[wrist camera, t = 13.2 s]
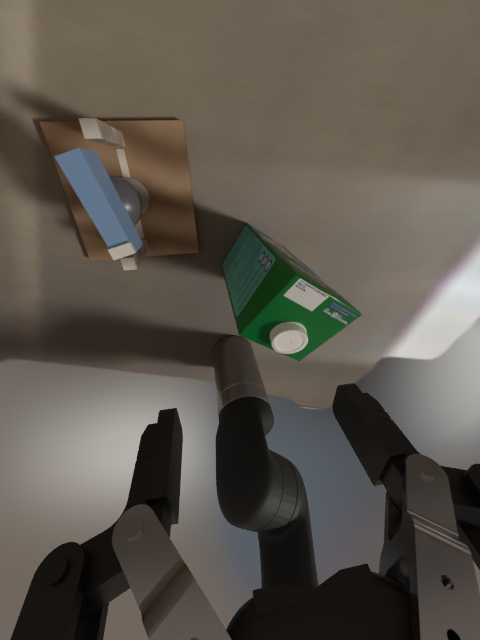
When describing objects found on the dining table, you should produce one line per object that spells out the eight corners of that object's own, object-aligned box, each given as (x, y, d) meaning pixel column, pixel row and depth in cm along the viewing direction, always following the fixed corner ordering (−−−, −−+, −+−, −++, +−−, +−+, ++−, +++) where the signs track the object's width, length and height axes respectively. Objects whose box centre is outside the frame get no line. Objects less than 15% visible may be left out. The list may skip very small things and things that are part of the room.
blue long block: (116, 147, 27) (96, 140, 21) (158, 236, 32) (150, 249, 27) (66, 164, 27) (33, 162, 21) (116, 250, 32) (99, 266, 27)
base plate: (198, 250, 43) (199, 272, 34) (92, 258, 41) (61, 284, 32) (183, 121, 33) (177, 101, 24) (44, 123, 31) (-22, 102, 22)
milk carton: (220, 266, 45) (241, 348, 24) (246, 222, 42) (297, 273, 21) (259, 287, 49) (307, 375, 28) (286, 248, 45) (363, 315, 24)
